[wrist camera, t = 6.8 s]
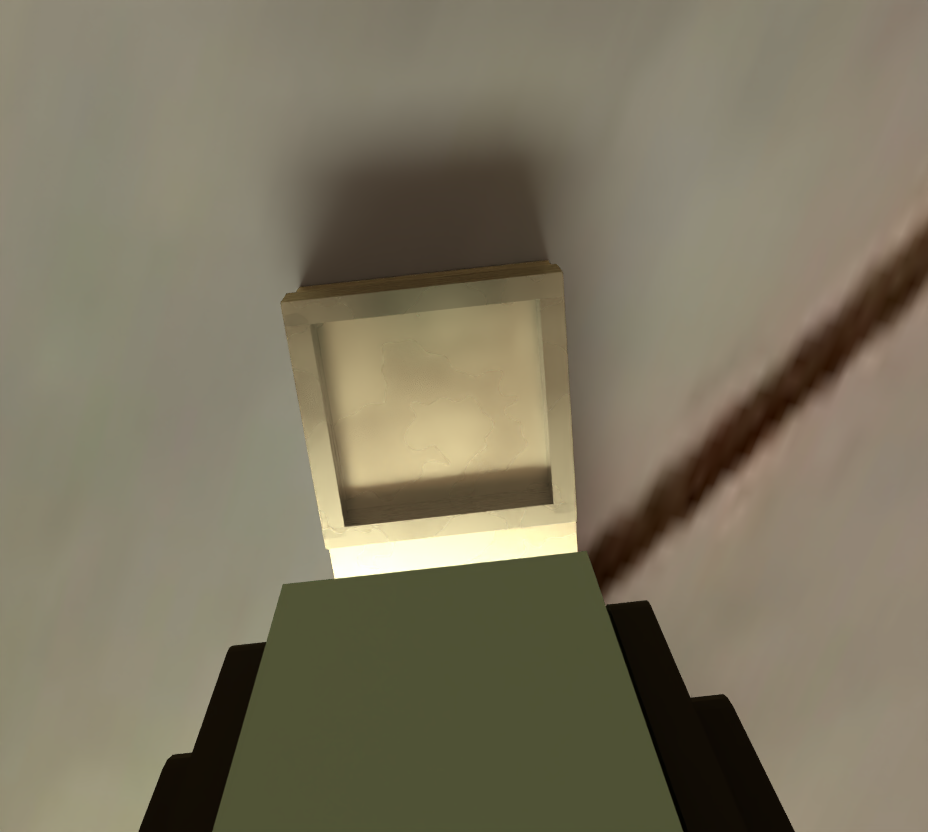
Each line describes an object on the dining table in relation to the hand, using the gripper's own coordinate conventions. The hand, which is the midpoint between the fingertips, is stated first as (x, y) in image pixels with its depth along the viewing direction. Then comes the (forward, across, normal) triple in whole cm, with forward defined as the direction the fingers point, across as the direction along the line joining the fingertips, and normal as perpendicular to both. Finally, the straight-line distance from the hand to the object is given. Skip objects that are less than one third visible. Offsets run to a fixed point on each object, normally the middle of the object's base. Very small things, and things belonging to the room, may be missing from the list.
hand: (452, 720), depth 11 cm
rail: (+14, 0, +10) cm, 18 cm away
